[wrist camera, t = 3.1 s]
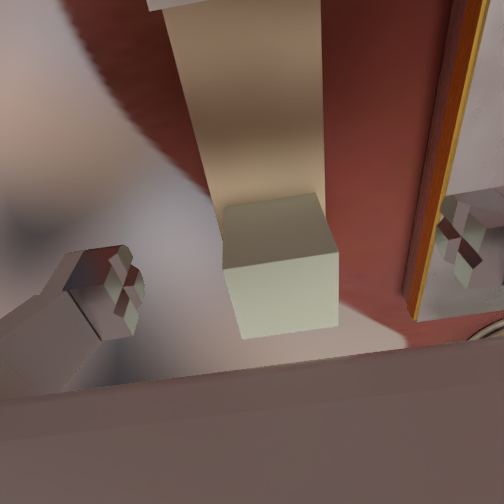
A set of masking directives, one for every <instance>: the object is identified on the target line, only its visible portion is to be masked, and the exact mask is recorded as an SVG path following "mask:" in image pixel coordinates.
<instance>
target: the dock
mask: <svg viewBox="0 0 504 504" xmlns="http://www.w3.org/2000/svg"><path fill="white" fill-rule="evenodd" d="M502 185H504V0H453V1H452V7H451V13H450V18H449V24H448V30H447V36H446V42H445V47H444V53H443V59H442V65H441V70H440V76H439V82H438V88H437V94H436V99H435V105H434V111H433V117H432V122H431V128H430V134H429V140H428V146H427V151H426V157H425V163H424V169H423V174H422V180H421V186H420V192H419V198H418V203H417V209H416V215H415V221H414V226H413V232H412V238H411V244H410V250H409V255H408V261H407V267H406V273H405V278H404V284H403V290H402V295H403V297H404V299H405V301H406V303H407V305H408V306H407V310H408V312H409V314H410V316H411V317H412V319H413V320H416V322H420V321H428V320H435V319H442V318H449V317H456V316H463V315H471V314H478V313H485V312H492V311H499V310H504V288H503V287H504V286H500V287H491V288H482V289H473V290H466V289H465V288H464V286H463V285H462V284H461V282H460V281H459V280H458V278H457V277H456V276H455V274H454V273H453V268H454V265H453V264H451V263H449V262H447V261H445V260H443V258H442V257H441V256H440V254H439V252H438V250H437V247H436V242H435V232H436V226H437V224H438V223H439V222H440V221H441V220H442V219H443V218H444V216H443V215H442V213H441V212H440V207H441V202H442V200H443V199H444V197H445V196H447V195H453V194H459V193H465V192H471V191H476V190H482V189H487V188H492V187H497V186H502Z"/></svg>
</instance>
